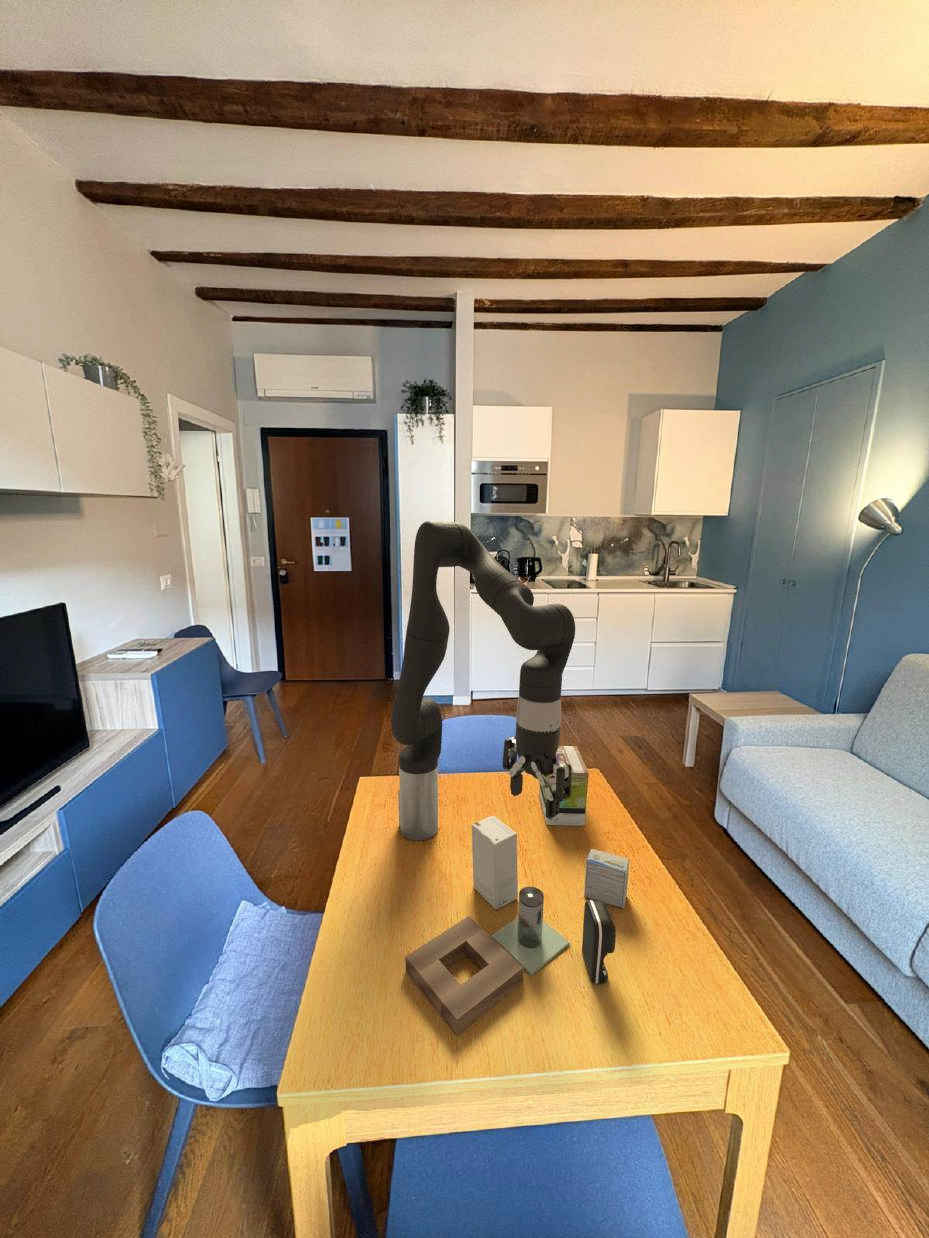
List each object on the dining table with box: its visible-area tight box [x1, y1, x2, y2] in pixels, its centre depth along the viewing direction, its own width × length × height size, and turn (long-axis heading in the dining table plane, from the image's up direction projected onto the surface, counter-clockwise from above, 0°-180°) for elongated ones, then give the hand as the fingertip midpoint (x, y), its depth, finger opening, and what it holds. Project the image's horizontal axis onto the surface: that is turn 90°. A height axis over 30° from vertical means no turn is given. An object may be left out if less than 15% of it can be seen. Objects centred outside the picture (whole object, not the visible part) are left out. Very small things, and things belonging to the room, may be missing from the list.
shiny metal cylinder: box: [517, 886, 545, 948], centre depth 92 cm, size 4×4×9 cm
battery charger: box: [581, 899, 617, 985], centre depth 86 cm, size 7×4×11 cm, turn 2°
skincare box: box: [471, 815, 519, 910], centre depth 103 cm, size 8×6×15 cm
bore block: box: [404, 915, 524, 1037], centre depth 85 cm, size 14×14×3 cm
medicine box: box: [583, 848, 630, 910], centre depth 103 cm, size 8×4×9 cm, turn 65°
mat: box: [490, 916, 571, 976], centre depth 93 cm, size 10×10×1 cm
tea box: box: [538, 745, 589, 827], centre depth 132 cm, size 15×10×15 cm
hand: (533, 805), depth 90 cm, fingers open, 8 cm apart
